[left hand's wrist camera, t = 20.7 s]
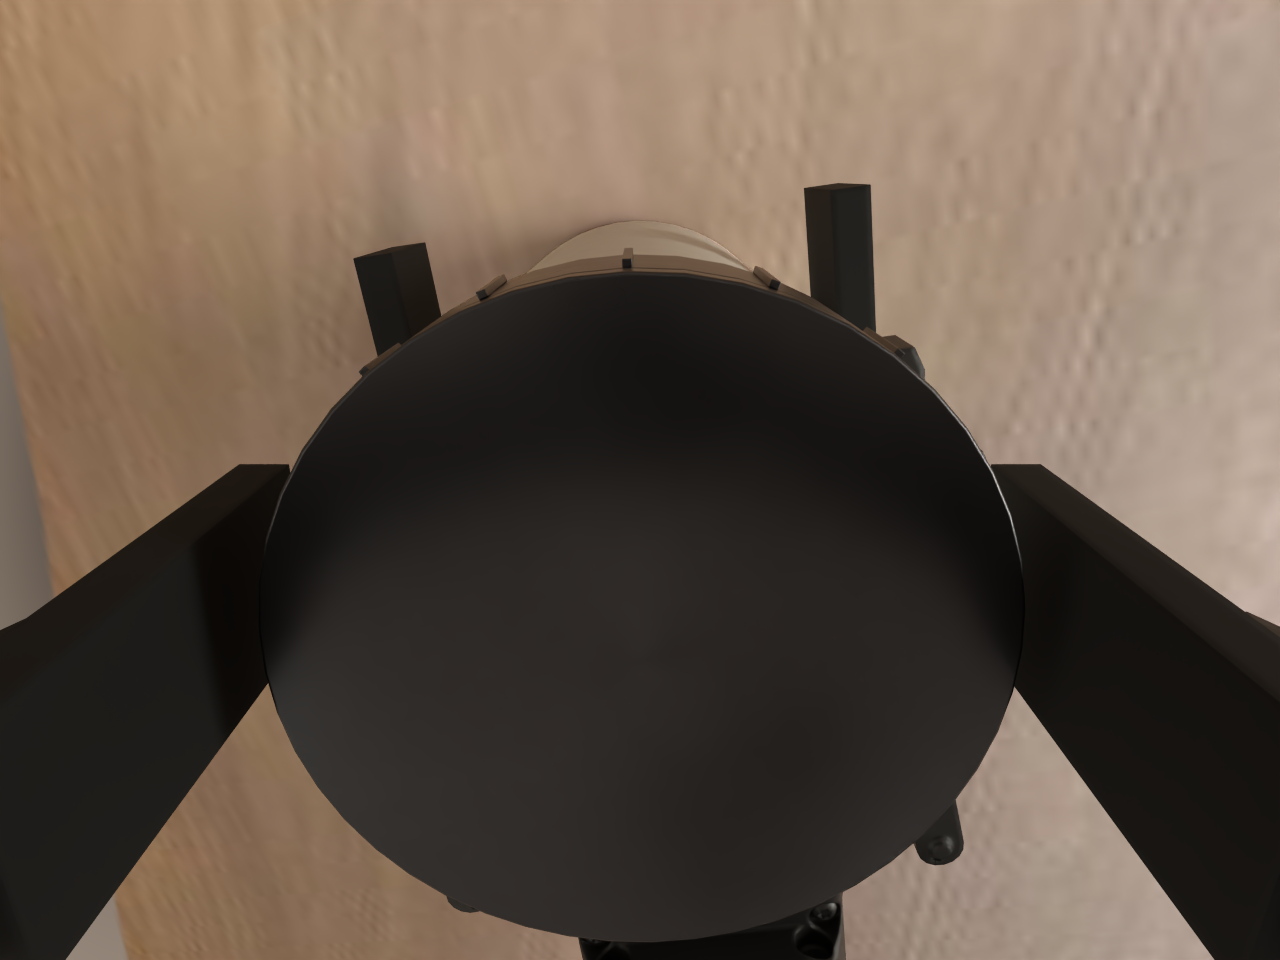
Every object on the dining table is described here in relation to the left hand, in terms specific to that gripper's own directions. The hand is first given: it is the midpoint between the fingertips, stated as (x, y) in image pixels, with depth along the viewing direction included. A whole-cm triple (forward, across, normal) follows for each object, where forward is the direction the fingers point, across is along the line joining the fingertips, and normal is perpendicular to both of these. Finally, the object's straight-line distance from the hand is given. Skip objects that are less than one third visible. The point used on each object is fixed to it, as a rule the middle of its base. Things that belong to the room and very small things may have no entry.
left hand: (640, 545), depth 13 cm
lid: (-3, 0, 0) cm, 3 cm away
